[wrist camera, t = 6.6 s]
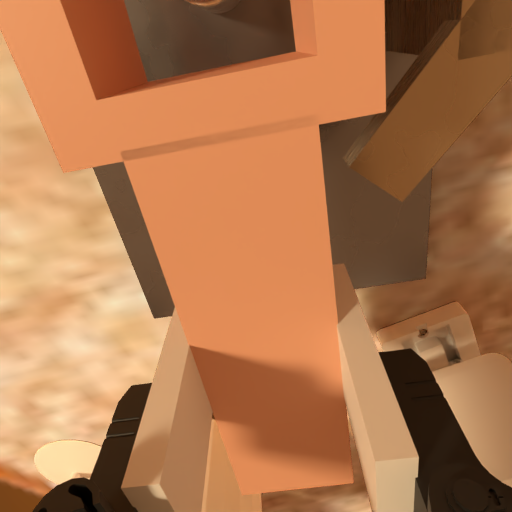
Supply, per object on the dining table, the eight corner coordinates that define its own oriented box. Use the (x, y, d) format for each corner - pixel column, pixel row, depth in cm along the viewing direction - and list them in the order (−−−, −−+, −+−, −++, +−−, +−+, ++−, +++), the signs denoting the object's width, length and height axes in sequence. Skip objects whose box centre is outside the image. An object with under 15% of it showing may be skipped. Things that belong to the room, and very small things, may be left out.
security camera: (399, 396, 28) (463, 555, 20) (368, 333, 25) (428, 490, 17) (486, 367, 27) (597, 526, 18) (465, 297, 24) (586, 448, 15)
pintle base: (5, -86, 14) (-198, -183, 8) (460, -200, 13) (666, -433, 6) (158, 306, 24) (123, 407, 17) (431, 265, 22) (502, 359, 16)
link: (15, -178, 8) (-163, -343, 5) (320, -261, 8) (377, -519, 4) (216, 407, 17) (207, 499, 14) (362, 388, 17) (391, 479, 13)
